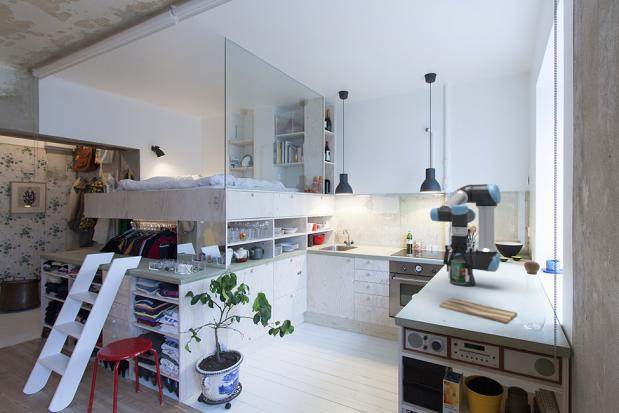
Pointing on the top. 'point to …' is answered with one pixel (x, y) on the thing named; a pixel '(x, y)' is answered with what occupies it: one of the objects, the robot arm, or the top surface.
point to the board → (479, 310)
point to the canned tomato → (458, 271)
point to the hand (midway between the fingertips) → (458, 279)
